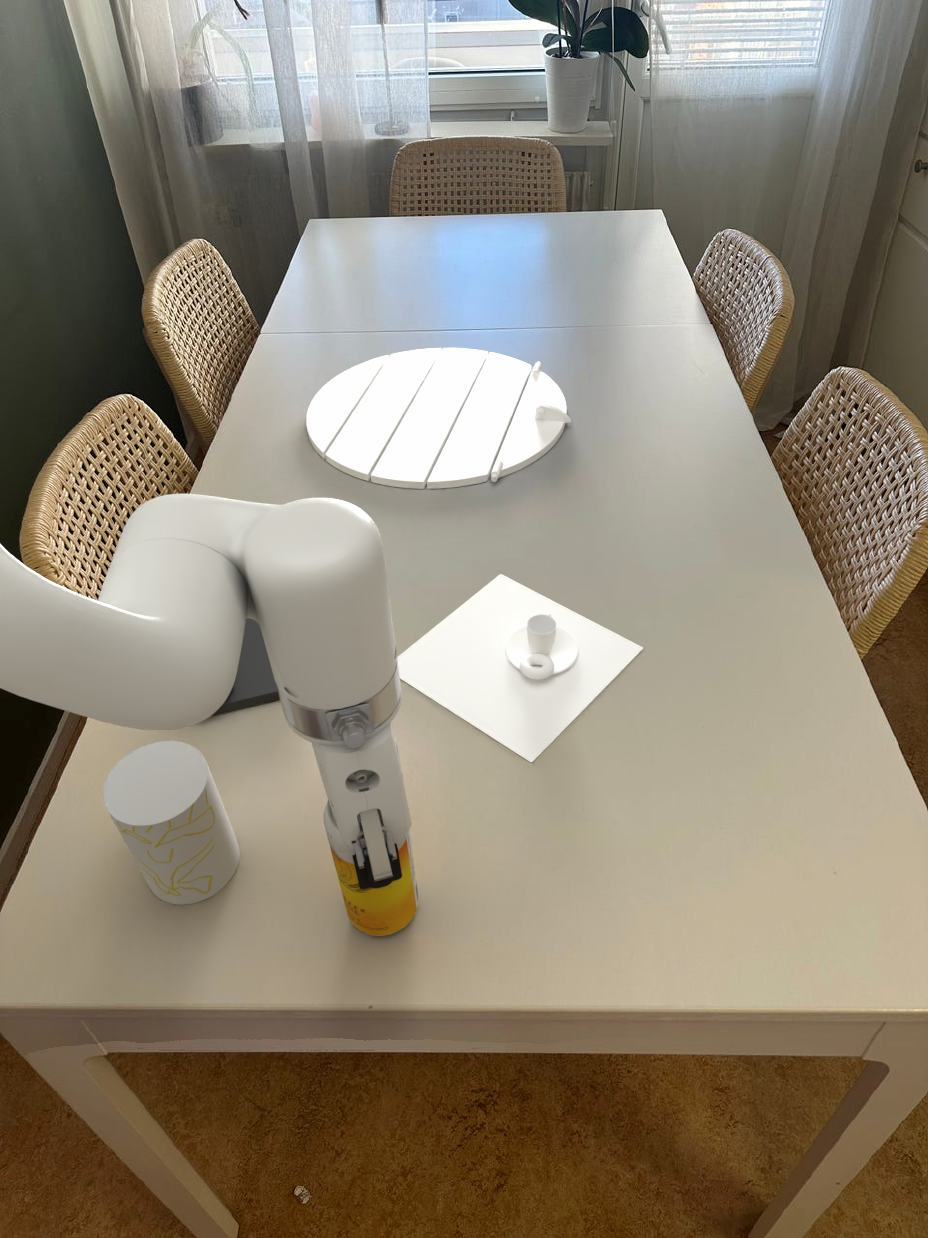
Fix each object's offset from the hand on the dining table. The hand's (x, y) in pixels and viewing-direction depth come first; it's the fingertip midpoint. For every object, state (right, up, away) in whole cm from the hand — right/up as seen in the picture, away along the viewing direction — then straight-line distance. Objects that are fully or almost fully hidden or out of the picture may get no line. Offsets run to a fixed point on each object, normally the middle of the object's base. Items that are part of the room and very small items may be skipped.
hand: (370, 841), depth 66 cm
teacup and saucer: (+13, +13, +28) cm, 33 cm away
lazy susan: (+3, +48, +65) cm, 81 cm away
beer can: (0, -7, +7) cm, 10 cm away
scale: (-17, +12, +29) cm, 35 cm away
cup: (-17, -5, +11) cm, 21 cm away
